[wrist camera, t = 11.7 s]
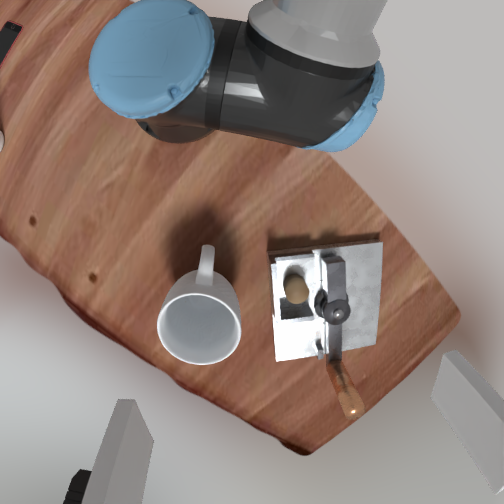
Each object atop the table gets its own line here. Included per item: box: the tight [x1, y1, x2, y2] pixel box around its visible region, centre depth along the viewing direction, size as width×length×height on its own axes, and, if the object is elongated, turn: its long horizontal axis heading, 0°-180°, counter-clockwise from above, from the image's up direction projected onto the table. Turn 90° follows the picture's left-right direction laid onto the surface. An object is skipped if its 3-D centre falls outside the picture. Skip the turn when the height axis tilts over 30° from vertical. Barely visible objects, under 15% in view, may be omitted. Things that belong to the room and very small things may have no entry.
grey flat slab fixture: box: [267, 239, 383, 361], centre depth 51 cm, size 20×19×6 cm
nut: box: [283, 274, 309, 304], centre depth 48 cm, size 4×4×3 cm
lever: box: [319, 256, 365, 419], centre depth 45 cm, size 22×4×14 cm, turn 7°
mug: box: [157, 245, 241, 365], centre depth 45 cm, size 15×11×13 cm
